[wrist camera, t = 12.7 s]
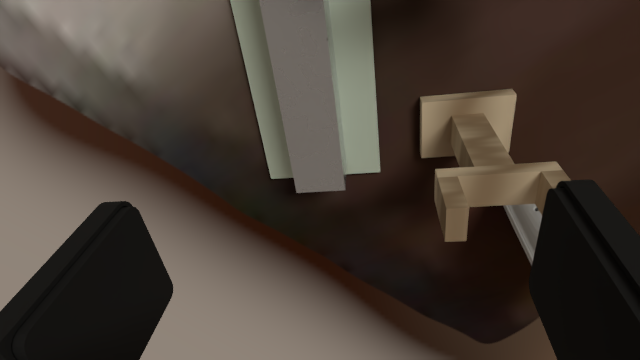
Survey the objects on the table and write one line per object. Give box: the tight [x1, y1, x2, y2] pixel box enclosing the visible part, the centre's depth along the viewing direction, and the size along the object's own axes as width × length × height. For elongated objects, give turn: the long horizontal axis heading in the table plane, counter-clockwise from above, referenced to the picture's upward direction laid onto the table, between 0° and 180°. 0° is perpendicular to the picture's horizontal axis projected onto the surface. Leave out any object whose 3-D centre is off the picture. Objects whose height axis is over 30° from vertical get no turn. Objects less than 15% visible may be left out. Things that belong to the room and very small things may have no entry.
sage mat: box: [230, 0, 380, 179], centre depth 31 cm, size 10×24×1 cm, turn 7°
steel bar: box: [259, 0, 347, 193], centre depth 29 cm, size 4×22×4 cm, turn 7°
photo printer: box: [503, 204, 542, 265], centre depth 33 cm, size 10×4×12 cm, turn 36°
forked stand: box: [420, 89, 571, 242], centre depth 24 cm, size 7×21×13 cm, turn 7°
